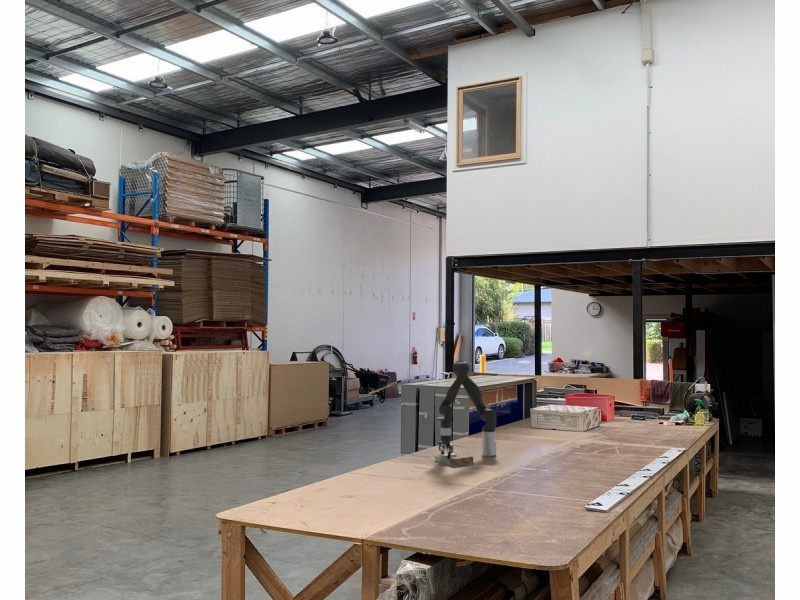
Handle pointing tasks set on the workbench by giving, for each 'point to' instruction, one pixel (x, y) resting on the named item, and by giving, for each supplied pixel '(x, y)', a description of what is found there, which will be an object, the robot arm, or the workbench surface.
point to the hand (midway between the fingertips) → (445, 458)
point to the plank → (444, 457)
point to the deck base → (454, 465)
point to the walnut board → (461, 460)
